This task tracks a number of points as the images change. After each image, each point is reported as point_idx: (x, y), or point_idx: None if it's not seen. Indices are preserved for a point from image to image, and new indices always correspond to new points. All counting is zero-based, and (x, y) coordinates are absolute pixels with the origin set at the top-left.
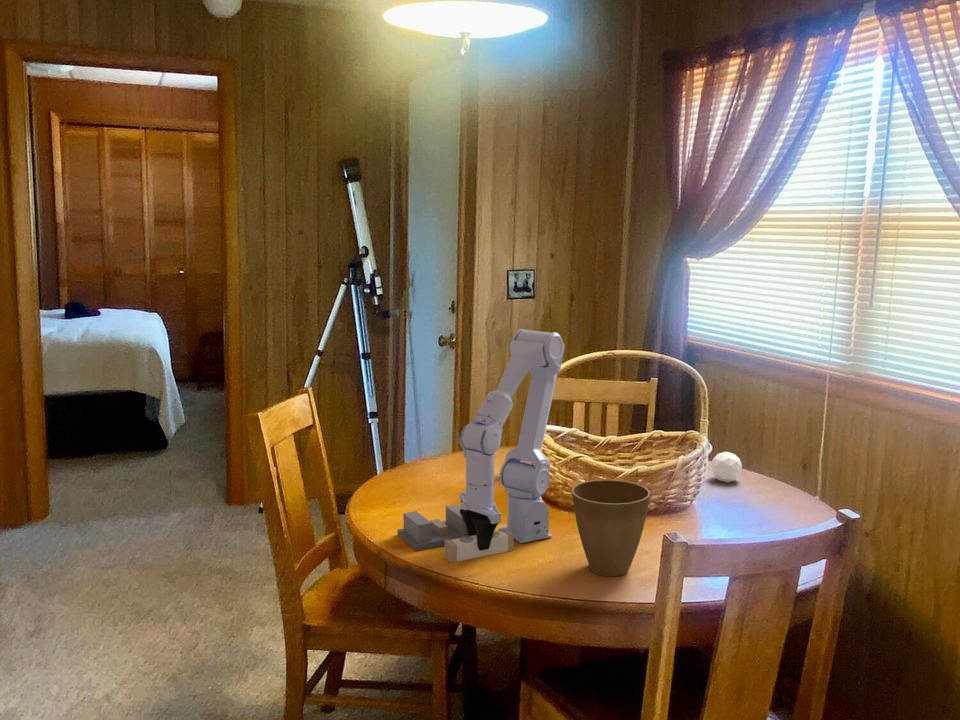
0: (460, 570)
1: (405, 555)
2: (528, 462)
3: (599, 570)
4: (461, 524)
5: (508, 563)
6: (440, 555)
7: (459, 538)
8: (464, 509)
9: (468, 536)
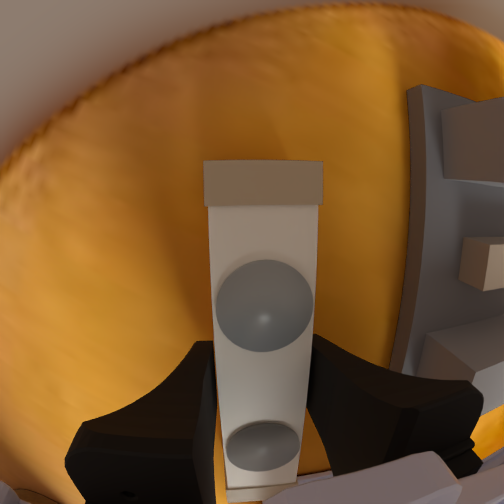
0: (104, 174)
1: (379, 33)
2: None
3: None
4: (457, 353)
5: (109, 393)
6: (320, 158)
7: (309, 274)
8: (279, 500)
9: (310, 340)
